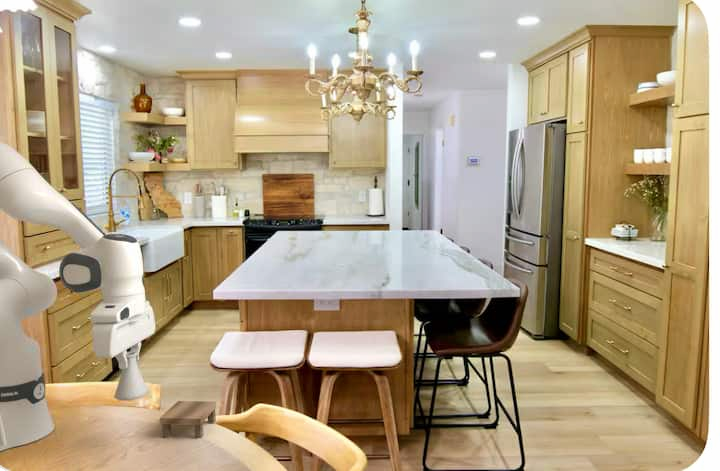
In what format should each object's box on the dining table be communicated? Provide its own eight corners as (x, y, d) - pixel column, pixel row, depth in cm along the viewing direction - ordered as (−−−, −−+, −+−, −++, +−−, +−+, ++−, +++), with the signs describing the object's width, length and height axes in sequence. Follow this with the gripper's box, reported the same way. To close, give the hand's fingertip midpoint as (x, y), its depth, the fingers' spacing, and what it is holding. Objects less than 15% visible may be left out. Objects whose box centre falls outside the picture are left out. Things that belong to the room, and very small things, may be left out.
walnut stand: (161, 438, 131) (159, 417, 130) (179, 419, 140) (178, 400, 140) (201, 439, 129) (200, 418, 129) (217, 420, 139) (216, 401, 139)
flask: (107, 399, 125) (104, 356, 123) (133, 388, 131) (130, 347, 130) (131, 404, 121) (127, 360, 120) (155, 392, 128) (153, 350, 127)
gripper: (135, 295, 135) (139, 350, 136) (84, 316, 115) (90, 380, 116) (160, 295, 134) (163, 350, 135) (113, 316, 114) (118, 381, 115)
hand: (129, 365), depth 126 cm, fingers closed on flask, 3 cm apart
